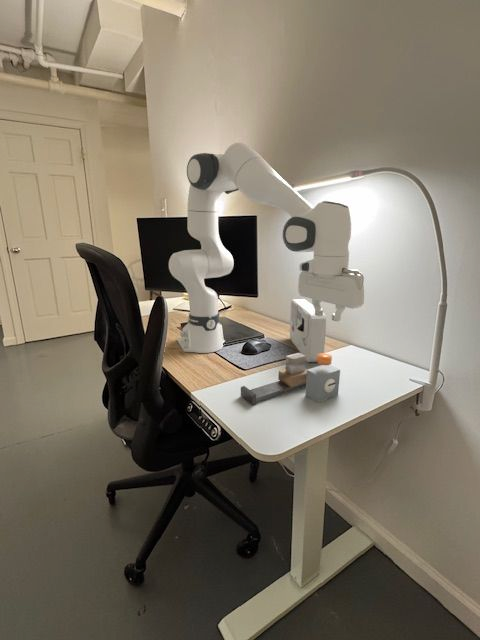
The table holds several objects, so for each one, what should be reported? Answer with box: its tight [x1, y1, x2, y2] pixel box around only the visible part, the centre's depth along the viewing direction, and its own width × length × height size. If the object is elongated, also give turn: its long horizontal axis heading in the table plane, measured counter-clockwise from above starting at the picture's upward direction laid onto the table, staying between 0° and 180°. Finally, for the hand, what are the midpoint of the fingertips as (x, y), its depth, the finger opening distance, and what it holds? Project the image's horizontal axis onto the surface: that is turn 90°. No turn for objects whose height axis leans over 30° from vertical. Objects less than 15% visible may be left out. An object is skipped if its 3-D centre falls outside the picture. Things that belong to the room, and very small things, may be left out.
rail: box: [240, 380, 306, 406], centre depth 98 cm, size 6×24×3 cm, turn 122°
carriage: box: [277, 352, 309, 387], centre depth 100 cm, size 6×8×8 cm
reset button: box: [316, 352, 333, 366], centre depth 92 cm, size 4×4×2 cm
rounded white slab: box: [289, 298, 327, 363], centre depth 128 cm, size 29×8×18 cm, turn 6°
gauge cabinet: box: [305, 364, 341, 403], centre depth 94 cm, size 6×8×8 cm
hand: (327, 318), depth 89 cm, fingers open, 5 cm apart
